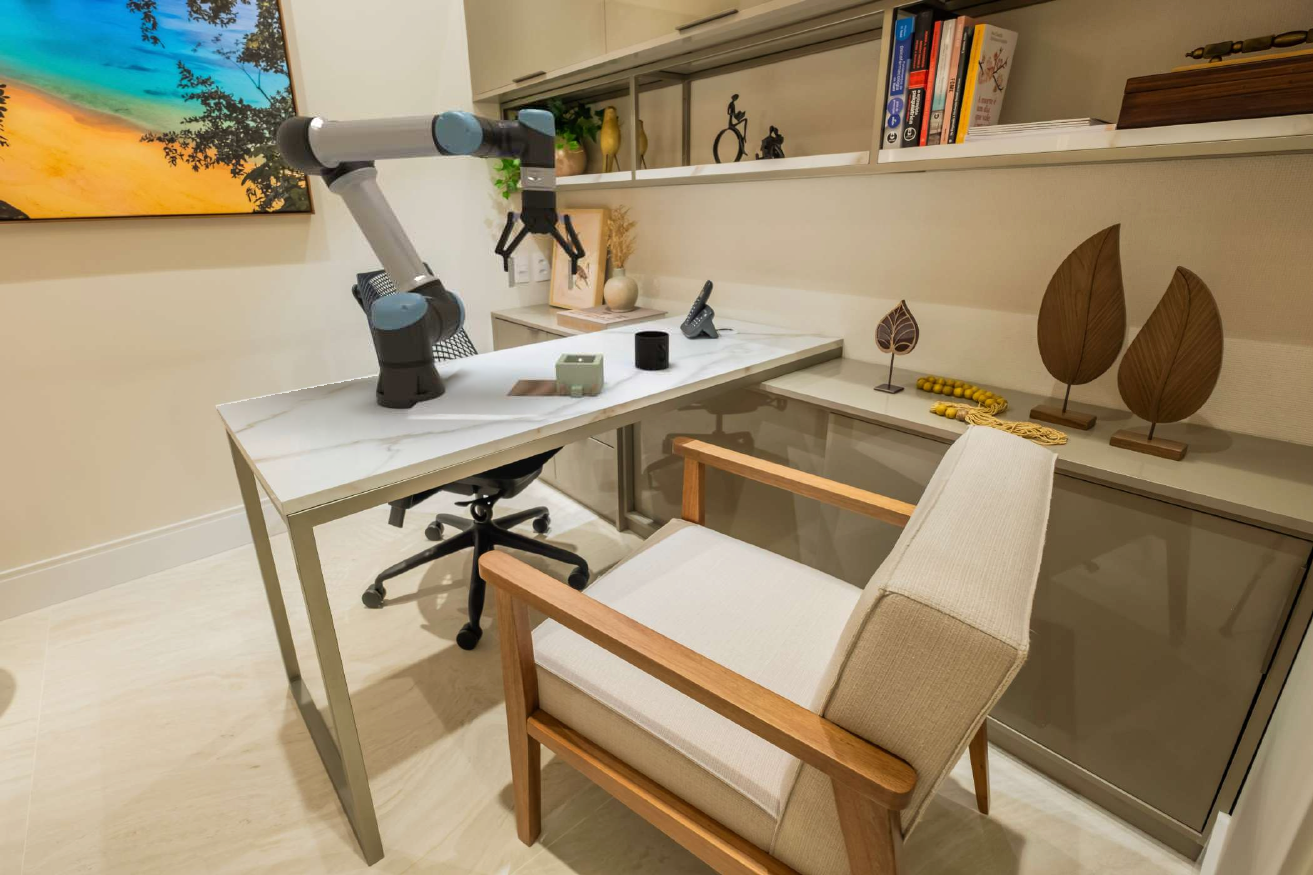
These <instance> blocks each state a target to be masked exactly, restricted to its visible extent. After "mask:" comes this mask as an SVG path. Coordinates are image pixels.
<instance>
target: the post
mask: <svg viewBox="0 0 1313 875" xmlns="http://www.w3.org/2000/svg"><path fill="white" fill-rule="evenodd" d="M575 363H586V362H585V360H584V359H583V358H578V359H577V360H576V361H575Z"/></svg>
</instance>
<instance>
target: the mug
mask: <svg viewBox="0 0 1313 875" xmlns="http://www.w3.org/2000/svg"><path fill="white" fill-rule="evenodd" d="M634 366H635V368H637V369H638V370H642V371H643V370H644V371H660V370H665V369H667V368H668V367H670V335H669V333H668V332H666V331H661V330H643V331H638V332H636V333H635V334H634Z"/></svg>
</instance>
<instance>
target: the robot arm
mask: <svg viewBox="0 0 1313 875" xmlns="http://www.w3.org/2000/svg"><path fill="white" fill-rule="evenodd" d="M556 136H557V135H556V127H555V117H554V114H553V113H552V112H550V111H547V110H543V109H533V108H531V109H530V108H528V109H521V110H519V111H518V117H517V119H515V120H514V119H513V120H508V119H507V120H504V119H503V120H502V119H491V118H488V117H484V116H479V115H475V114H472V113H469V112H466V111H463V110H446V111H445V112H443V113H440V114H424V115H412V116H410V115H409V116H408V115H407V116H398V117H384V118H383V117H381V118H370V119H369V118H368V119H367V118H366V119H352V120H351V119H350V120H329V119H327V118H326V117H323V116H313V117H310V116H304V115H302V116H299V115H298V116H296V115H295V116H293V117H290V118H288V119H286V120H285V121H283V122H282V123H281V125H279V127H278V130H277V132H276V138H275V139H276V147H277V150H278V153H279V155H280V156H281V158H282V159H283V161H284V162H285V163H286V164H287V165H288V166H289V167H290V168H292V169H294V170H295V171H297V172H299V173H301V174H304V175H309V176H317V177H318V176H319V177H321V179H322V180H323V182H324V183H325V185H326V186H327V188H328V191H330V193H331V194H334V195H337V196H340V197H341V199H342V200H343V202H344V204H345V206H346V208H347V209H348V211H349V212H350V214H351V215H352V217H353V219H354V221H355V223H356V224H357V226H358V227H359V229H360V231H361V232H362V234H363V236H364V238H365V240H366V241H367V242H368V244H369V245H370V248H371V250H372V251H373V253H374V254H375V256H376V258H377V260H378V261H379V262H380V264H381V267H382V268H383V270H384V271H385V274H387V276H388V278H389V280H390V282H392V284H393V286H394V288H395V290H396V293H394V294H388V295H384V296H382V297H379V298H377V299H375V300H374V302H373V303H372V305H371V324H372V325H373V331H374V332H373V333H374V337H375V338H374V339H375V343H376V344H375V345H376V349H377V355H378V362H379V367H380V368H379V374H378V380H377V386H376V389H375V390H376V391H375V392H376V393H375V395H376V401H377V404H379V405H380V406H383V407H387V408H398V409H399V408H400V409H402V408H405V409H406V408H413V407H414V406H416V405H417V404H418V403H423V402H427V401H430V400H434V399H437V398H439V397H442V396H443V395H444V394H445V393H446V386H445V383H444V381H443V379H442V377H441V375H440V373H439V371H438V369H437V366H436V365H435V360H434V354H433V353H434V352H433V345H435V344H438V343H440V342H444V341H447V340H449V339H451V338H453V337H454V336H455V335H457V334H458V333H459V332H460V331H461V330H462V329H463V327H464V324H465V320H466V309H465V306H464V303H463V301H462V299H461V298H460V296H458V295H457V294H456V293H455V292H452V291H450V290H448V289H446V287H445V286H444V284H443V283H442V281H441V279H440V278H439V277H437V276H434V275H431V274H430V273H429V271H428V269H427V268H426V266H425V264H424V263H423V261H422V259H421V257H420V255H419V254H418V253H417V251H416V248H415V247H414V245H413V243H412V242H411V239H410V237H408V235H407V233H406V231H405V229H404V228H403V225H401V222H400V221H399V219H398V218H397V216H396V214H395V213H394V212H395V211H394V210H393V209H392V207H391V205H390V203H389V201H388V200H387V199H386V197H385V195H384V194H383V192H382V190H381V188H380V186H379V185H378V182H377V181H376V179H377V176H378V170H377V168H376V166H375V163H376V162H375V161H379V160H382V161H383V160H398V159H414V158H415V159H416V158H430V157H431V158H433V157H455V156H456V157H457V156H471V157H472V158H479V159H485V160H486V159H487V160H488V159H511V160H512V159H513V160H519V161H520V168H519V169H520V186H521V187H522V188H523V190H521V195H520V196H521V211H520V213H519V212H516V211H514V210H513V211H508V212H507V215H506V216H507V217H506V218H507V219H506V224H505V226H504V228H503V230H502V233H501V235H500V237H499V240H498V242H497V244H496V246H495V248H494V254H496V255H500V256H501V257H502V259H503V271H504V273H505V272H506V273H507V274H508V288H514V287H515V286H516V279H515V278H516V277H515V257H514V256H511V255H512V254H513V252H515V250H516V249H517V248H518V246H519V245H520V244H521V242H523V240H524V239H525V238H526V237H527V235H528V234H529V233H531V234H533V235H537V234H541V235H548V234H550V235H551V236H552V237H553V238H554V240H555V241H556V242H557V243H558V244H559V246H560V247H561V248H562V249H563V250H564V252H565V254H567V256H568V258H570V259H568V260H567V290H568V291H572V290H573V289H574V276H576V275H577V274H578V271H579V270H578V269H579V268H578V263H579V262H578V261H579V260H580V259H583V258H585V257H586V252H585V251H586V250H584V247H583V245H582V243H581V241H580V239H579V237H578V234H577V232H576V230H575V228H574V226H573V223H572V216H571V214H570V213H566V214H558V211H557V193H556V191H555V190H554V189H556V188H557V172H556V171H557V169H556V138H557V137H556ZM518 220H520V221H521V222H522V224H523V225H524V226H523V227H522V228H521V229H520V230H519V232H518V234H517V235H516V236H515V237H514V238H513V240H512V241H511V243H510V244H509V245H508V246H507V248H506V249H505V247H506V244H507V242H508V239H509V238H510V236H511V233H512V231H513V228H514V226H515V223H517V222H518ZM559 221H560V223H561V225H564V227H565V229H566V232H567V235H568V236H569V238H570V240H571V242H572V244H573V246H574V249H575V251H576V252H575V251H574V249H573V248H572V246H570V244H569V243H568V242H567V240H566V239H565V238H564V236H563V235H562V234H561V233H560V231H559V230H558V228H557V227H556V225H557V224H558V222H559Z"/></svg>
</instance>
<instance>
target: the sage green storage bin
mask: <svg viewBox="0 0 1313 875" xmlns="http://www.w3.org/2000/svg"><path fill="white" fill-rule="evenodd" d="M578 358H583V359H584V360H585V362H586V363H575V361H576V360H577V359H578ZM554 366H555V380H556V384H557V393H560V385H559V383H560V382H564V383H565V393H571V397H570V398H583V397H582V396H583V394H590V383H591V382H594V383H595V394H599V395H600V394H601V391H602V389H603V386H604V383H605V378H604V377H605V375H604V374H605V373H604V370H605V369H604V354H602V353H598V354H597V353H561V355H560V357H559V358H558V359H557V361H556V363H555V365H554Z"/></svg>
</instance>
